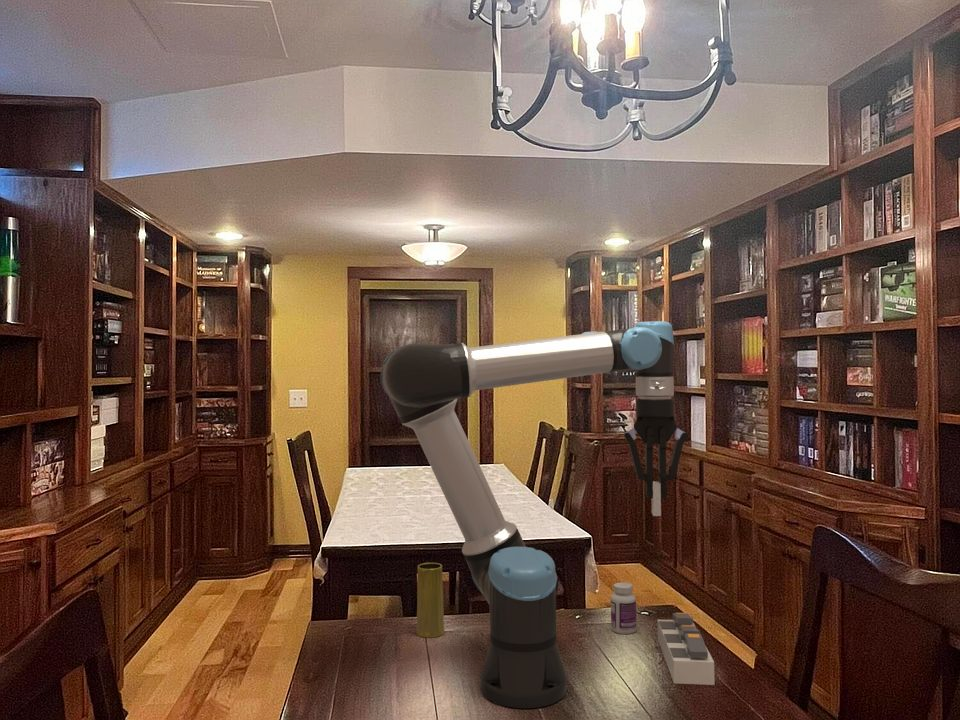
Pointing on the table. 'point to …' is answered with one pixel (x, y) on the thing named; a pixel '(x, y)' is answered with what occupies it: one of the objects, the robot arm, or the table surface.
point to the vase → (430, 601)
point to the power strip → (683, 657)
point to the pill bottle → (623, 609)
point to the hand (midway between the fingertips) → (656, 514)
